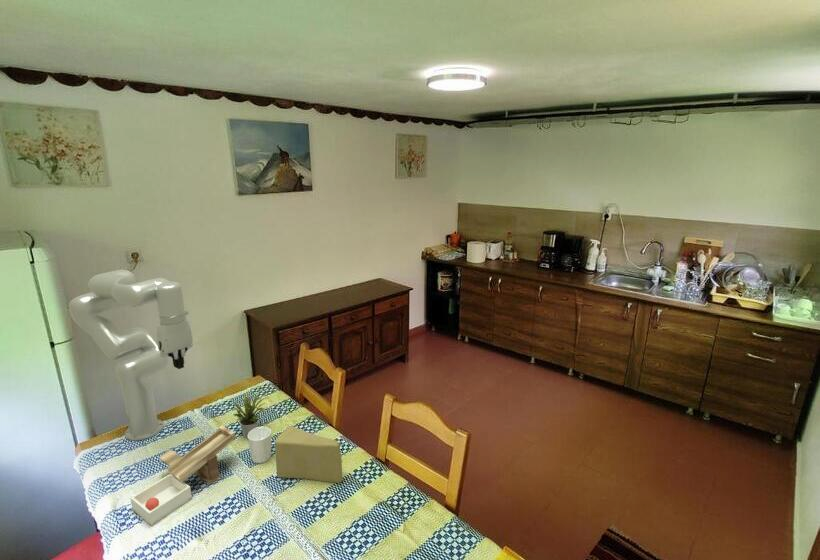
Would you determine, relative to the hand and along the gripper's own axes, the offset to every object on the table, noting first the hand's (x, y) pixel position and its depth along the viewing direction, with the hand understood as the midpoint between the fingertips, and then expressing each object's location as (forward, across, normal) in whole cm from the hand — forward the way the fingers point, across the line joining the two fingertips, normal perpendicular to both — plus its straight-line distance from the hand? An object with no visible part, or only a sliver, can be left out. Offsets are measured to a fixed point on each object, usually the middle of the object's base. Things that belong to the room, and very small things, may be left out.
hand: (179, 367), depth 142 cm
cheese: (+33, -14, +48) cm, 60 cm away
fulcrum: (+33, +5, +18) cm, 38 cm away
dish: (+33, +20, +18) cm, 43 cm away
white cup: (+33, -11, +26) cm, 44 cm away
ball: (+31, +23, +18) cm, 42 cm away
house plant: (+33, -18, +13) cm, 40 cm away
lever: (+26, +5, +14) cm, 30 cm away
